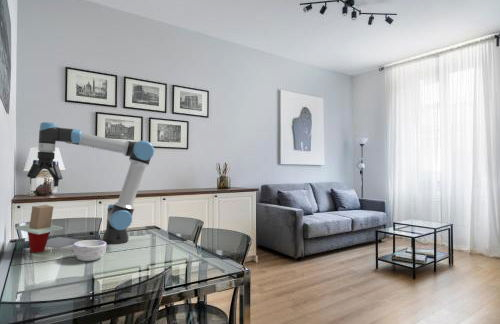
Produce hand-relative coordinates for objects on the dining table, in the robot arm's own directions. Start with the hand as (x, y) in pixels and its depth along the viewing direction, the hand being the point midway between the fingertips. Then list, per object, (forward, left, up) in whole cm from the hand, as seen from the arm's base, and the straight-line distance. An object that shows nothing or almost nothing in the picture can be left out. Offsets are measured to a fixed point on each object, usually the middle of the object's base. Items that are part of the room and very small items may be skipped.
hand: (43, 191), depth 163 cm
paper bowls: (-30, -1, -32) cm, 44 cm away
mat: (+5, -17, -32) cm, 36 cm away
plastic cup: (0, +1, -32) cm, 32 cm away
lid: (0, +1, -20) cm, 20 cm away
